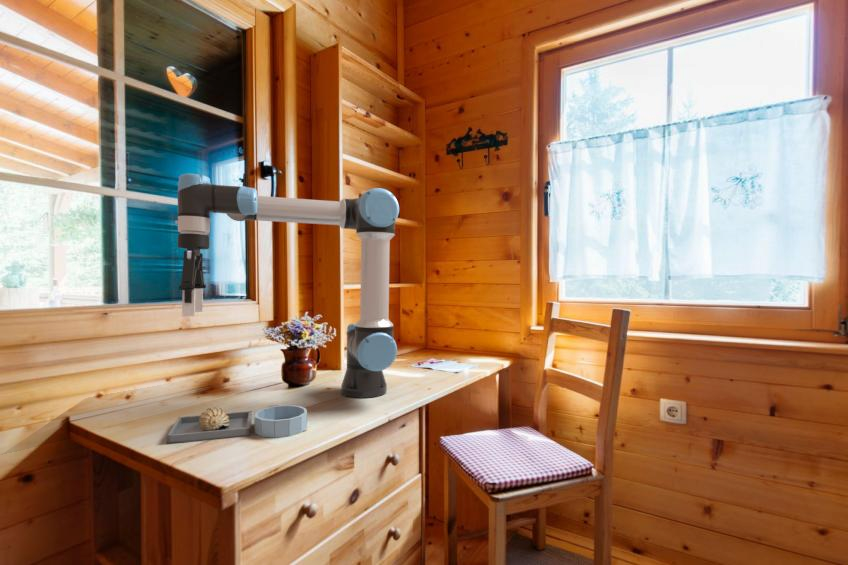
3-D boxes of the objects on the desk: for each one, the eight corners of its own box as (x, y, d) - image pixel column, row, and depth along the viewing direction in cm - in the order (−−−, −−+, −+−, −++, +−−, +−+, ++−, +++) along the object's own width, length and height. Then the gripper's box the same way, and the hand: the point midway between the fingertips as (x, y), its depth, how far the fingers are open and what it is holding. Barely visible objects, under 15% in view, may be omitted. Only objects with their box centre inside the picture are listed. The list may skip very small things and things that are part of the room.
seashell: (191, 440, 107) (207, 432, 101) (187, 416, 108) (202, 407, 102) (222, 432, 113) (239, 424, 107) (218, 409, 114) (234, 400, 108)
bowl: (304, 418, 117) (304, 403, 117) (308, 434, 106) (308, 417, 105) (255, 422, 113) (255, 407, 113) (253, 439, 101) (254, 422, 101)
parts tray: (251, 417, 117) (251, 410, 117) (249, 435, 104) (249, 428, 104) (178, 424, 111) (178, 417, 111) (166, 444, 98) (166, 436, 98)
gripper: (186, 237, 125) (185, 310, 126) (167, 228, 102) (166, 318, 102) (215, 238, 128) (214, 310, 128) (202, 230, 105) (201, 317, 105)
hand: (193, 313), depth 115 cm, fingers open, 13 cm apart
